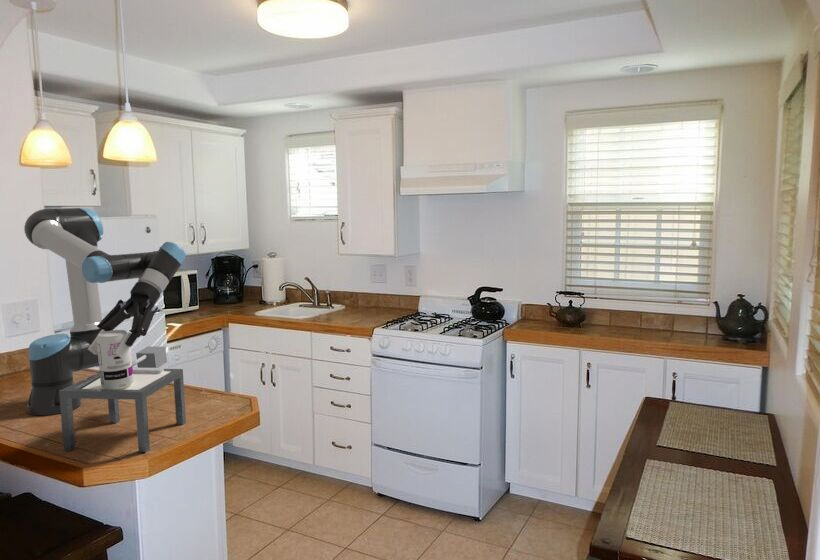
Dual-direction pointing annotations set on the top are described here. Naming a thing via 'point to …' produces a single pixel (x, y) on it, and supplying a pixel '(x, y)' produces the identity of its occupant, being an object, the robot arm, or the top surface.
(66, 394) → the stand
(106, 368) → the supplement can
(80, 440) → the top surface
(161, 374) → the trapdoor
